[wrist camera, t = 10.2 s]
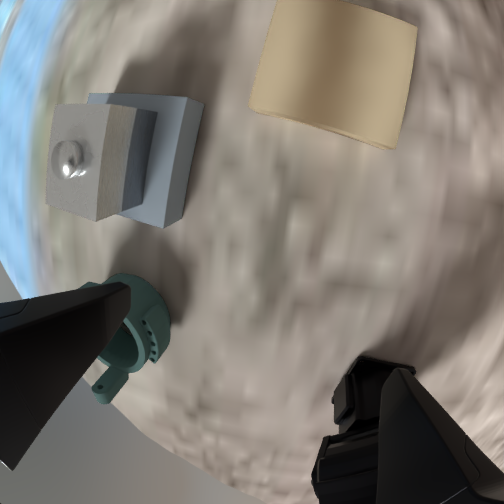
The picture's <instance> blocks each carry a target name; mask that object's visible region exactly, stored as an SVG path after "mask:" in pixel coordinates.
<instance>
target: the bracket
mask: <svg viewBox="0 0 504 504" xmlns="http://www.w3.org/2000/svg"><path fill="white" fill-rule="evenodd" d="M118 281H121V282H123V283H126V284H128V285H130V287H131V308H130V311H129V313H128V315H127V316H126V318H125V319H124V321H123V322H124V323H125V324H126V325H127V327H128V328H129V330H130V331H131V333H132V334H133V336H134V337H132V336H130V335H129V334H128V333H126V332H125V331H124V330H123V329H122V328H120V327H119V328H118V330H117V331H116V333H115V334H114V336H113V337H112V339H111V340H110V342H109V343H108V345H107V346H106V347H105V348H104V350H103V351H102V352H101V353H100V354H99V356H98V357H97V358H98V359H99V360H100V361H101V362H102V363H104V364H105V365H107V366H108V367H109V368H108V369H107V370H106V371H105V372H104V374H103V375H102V376H101V377H100V378H99V379H98V380H97V381H96V383H95V384H94V385H93V386H92V391H93V393H94V395H95V397H96V399H97V401H98V402H99V403H101V404H109V403H110V402H111V401H112V400H113V398H114V397H115V396H116V394H117V393H118V392H119V391H120V389H121V388H122V387H123V385H124V384H125V383H126V382H127V380H128V379H129V376H128V373H134V372H137V371H139V370H140V369H141V368H142V367H143V365H144V364H145V363H146V362H147V360H148V359H149V360H151V361H152V362H153V363H154V364H155V363H156V362H157V361H158V359H159V358H160V357H161V355H162V354H163V353H164V351H165V350H166V349H167V347H168V345H169V342H170V315H169V312H168V309H167V306H166V304H165V302H164V300H163V299H162V297H161V296H160V294H159V293H158V292H157V291H156V290H155V288H153V287H152V286H151V285H150V284H149V283H148V282H146V281H145V280H144V279H142V278H140V277H138V276H135V275H129V274H123V273H119V274H116V275H114V276H112V277H111V278H109V279H108V280H106V281H105V282H103V283H102V284H108V283H113V282H118ZM102 284H98V283H93V282H87V283H86V284H84V285H83V286H81V287H80V288H78V289H81V288H87V287H92V286H97V285H102Z"/></svg>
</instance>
